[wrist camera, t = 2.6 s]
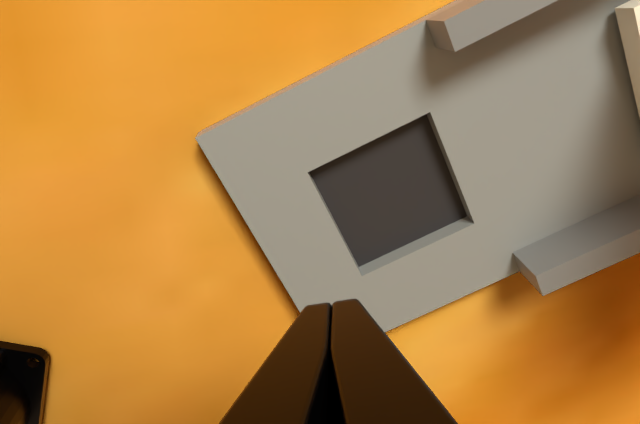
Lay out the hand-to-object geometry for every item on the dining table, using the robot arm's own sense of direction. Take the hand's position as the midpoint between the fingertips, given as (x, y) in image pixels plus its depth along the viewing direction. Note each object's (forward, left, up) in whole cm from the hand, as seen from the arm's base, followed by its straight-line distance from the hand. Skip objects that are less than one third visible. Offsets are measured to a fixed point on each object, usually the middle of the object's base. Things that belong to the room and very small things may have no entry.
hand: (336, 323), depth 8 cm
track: (+5, -11, -12) cm, 17 cm away
